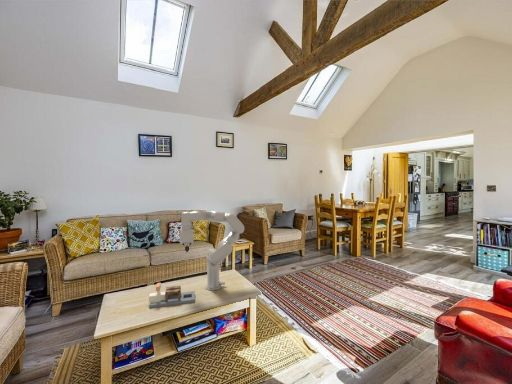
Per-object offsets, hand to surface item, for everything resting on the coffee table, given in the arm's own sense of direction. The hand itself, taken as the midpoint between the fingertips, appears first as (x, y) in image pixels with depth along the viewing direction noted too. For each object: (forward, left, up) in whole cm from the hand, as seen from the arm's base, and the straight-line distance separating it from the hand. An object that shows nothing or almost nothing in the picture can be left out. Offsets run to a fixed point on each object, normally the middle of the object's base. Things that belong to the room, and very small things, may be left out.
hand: (187, 251), depth 189 cm
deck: (+10, +11, -32) cm, 35 cm away
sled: (+20, +11, -30) cm, 38 cm away
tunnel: (+10, +11, -30) cm, 34 cm away
